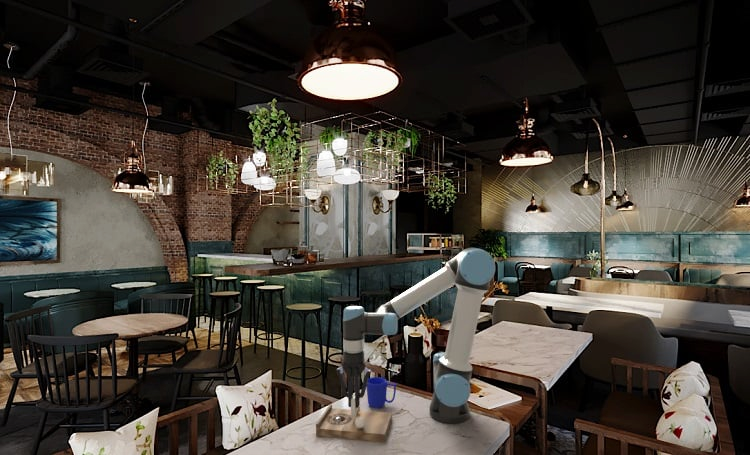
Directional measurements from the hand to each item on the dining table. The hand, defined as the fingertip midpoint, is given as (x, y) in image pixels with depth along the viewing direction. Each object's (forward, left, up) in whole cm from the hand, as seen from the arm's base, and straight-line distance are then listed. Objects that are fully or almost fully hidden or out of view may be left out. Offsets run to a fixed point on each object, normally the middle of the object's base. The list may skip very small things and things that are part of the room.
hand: (354, 415), depth 144 cm
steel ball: (+6, 0, -3) cm, 7 cm away
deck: (0, 0, -4) cm, 4 cm away
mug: (-6, -19, -4) cm, 21 cm away
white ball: (-3, +5, 0) cm, 6 cm away
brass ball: (+1, -5, 0) cm, 5 cm away
